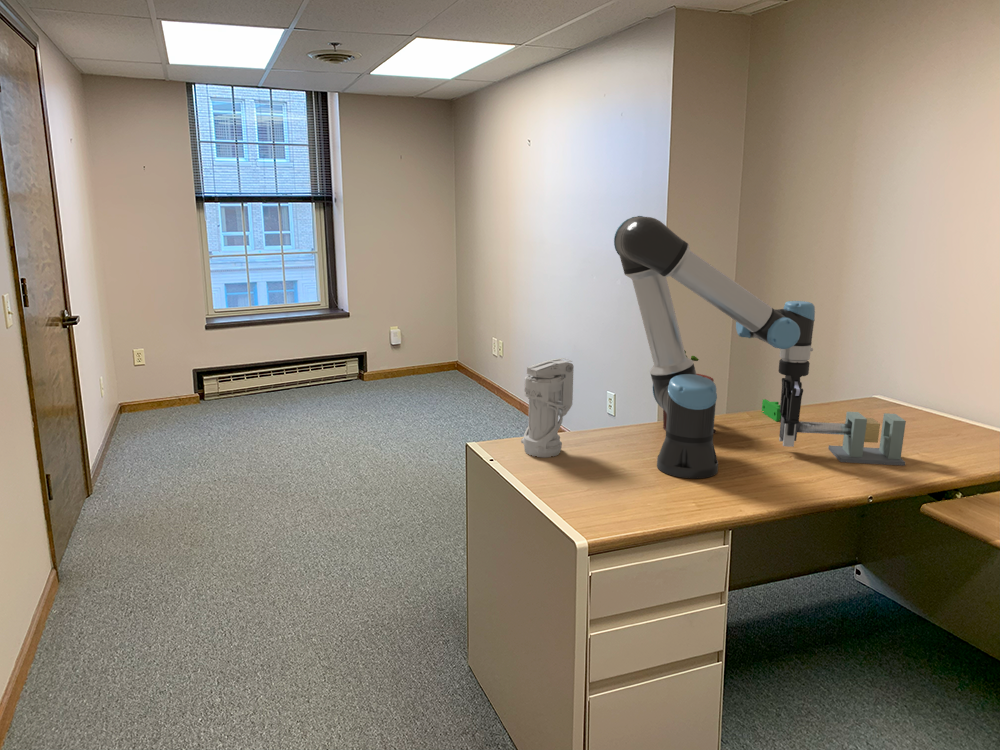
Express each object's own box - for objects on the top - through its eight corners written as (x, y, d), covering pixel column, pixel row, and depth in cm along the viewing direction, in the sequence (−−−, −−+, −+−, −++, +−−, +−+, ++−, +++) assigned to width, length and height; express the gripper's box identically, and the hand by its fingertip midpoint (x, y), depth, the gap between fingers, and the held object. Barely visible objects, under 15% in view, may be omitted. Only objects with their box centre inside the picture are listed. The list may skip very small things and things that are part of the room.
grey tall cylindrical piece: (536, 460, 191) (538, 367, 185) (516, 448, 200) (517, 360, 194) (576, 452, 197) (579, 362, 191) (556, 442, 206) (558, 355, 200)
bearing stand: (889, 452, 200) (894, 411, 197) (904, 465, 189) (910, 423, 186) (828, 448, 202) (832, 409, 199) (840, 462, 191) (845, 420, 189)
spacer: (870, 436, 197) (872, 418, 196) (877, 442, 191) (880, 423, 190) (856, 435, 197) (858, 417, 196) (863, 442, 192) (865, 423, 191)
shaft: (862, 440, 196) (865, 419, 195) (866, 444, 193) (869, 423, 192) (779, 436, 199) (781, 415, 198) (782, 440, 196) (784, 419, 195)
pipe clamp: (787, 422, 228) (789, 408, 227) (776, 422, 228) (777, 408, 227) (772, 412, 239) (773, 398, 238) (761, 412, 239) (762, 398, 238)
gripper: (817, 366, 184) (808, 454, 189) (801, 354, 200) (793, 435, 205) (787, 365, 185) (778, 452, 190) (773, 353, 201) (765, 433, 206)
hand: (786, 443), depth 198 cm, fingers closed on shaft, 4 cm apart
